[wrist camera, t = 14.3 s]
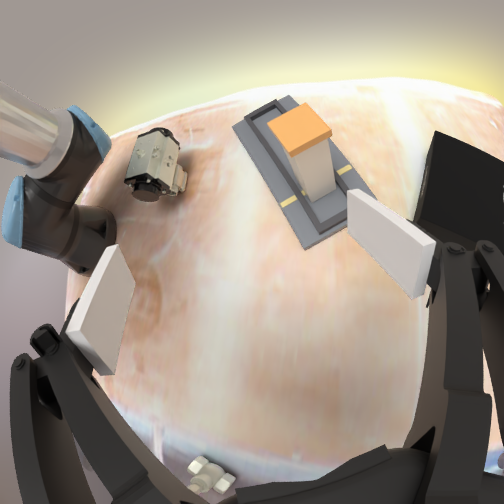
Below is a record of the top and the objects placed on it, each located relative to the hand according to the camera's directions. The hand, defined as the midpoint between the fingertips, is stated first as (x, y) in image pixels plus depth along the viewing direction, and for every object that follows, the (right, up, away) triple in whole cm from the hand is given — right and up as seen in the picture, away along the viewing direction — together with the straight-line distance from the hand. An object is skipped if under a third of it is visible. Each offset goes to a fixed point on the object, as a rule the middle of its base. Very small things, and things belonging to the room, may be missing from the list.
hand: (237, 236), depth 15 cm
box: (+35, +3, +13) cm, 37 cm away
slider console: (+8, +13, +25) cm, 29 cm away
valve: (-5, -35, +17) cm, 39 cm away
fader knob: (+10, +8, +22) cm, 25 cm away
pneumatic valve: (-12, +11, +32) cm, 36 cm away
